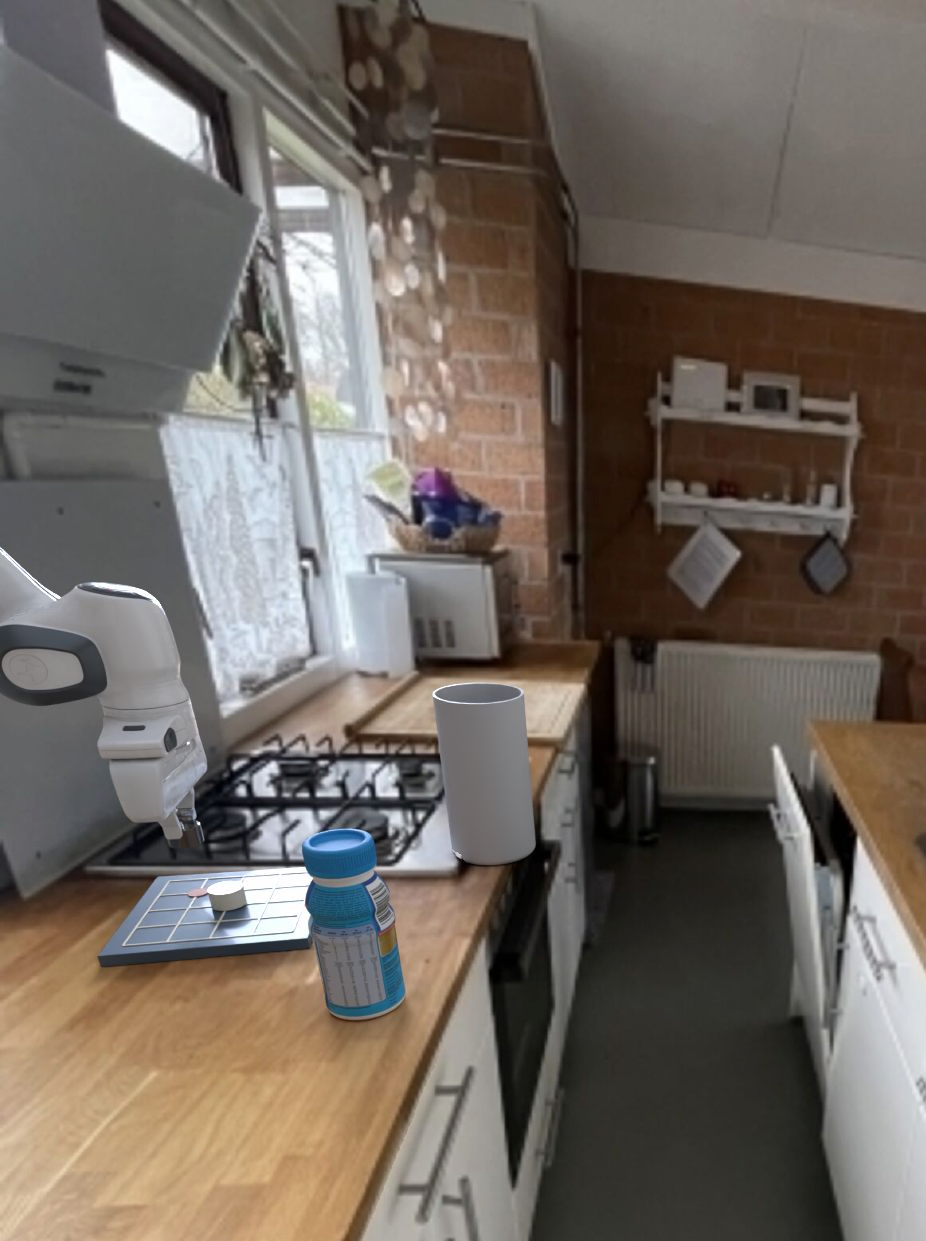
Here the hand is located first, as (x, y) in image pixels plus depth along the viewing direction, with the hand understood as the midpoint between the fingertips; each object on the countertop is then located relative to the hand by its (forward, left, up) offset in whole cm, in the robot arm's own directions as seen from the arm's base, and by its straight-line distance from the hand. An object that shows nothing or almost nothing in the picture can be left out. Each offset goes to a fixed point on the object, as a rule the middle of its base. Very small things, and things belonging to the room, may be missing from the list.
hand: (182, 829), depth 113 cm
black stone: (0, 0, -2) cm, 2 cm away
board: (+4, -5, -11) cm, 12 cm away
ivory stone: (+4, -4, -9) cm, 11 cm away
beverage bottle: (+23, -30, -11) cm, 39 cm away
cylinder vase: (+37, +11, -11) cm, 41 cm away
